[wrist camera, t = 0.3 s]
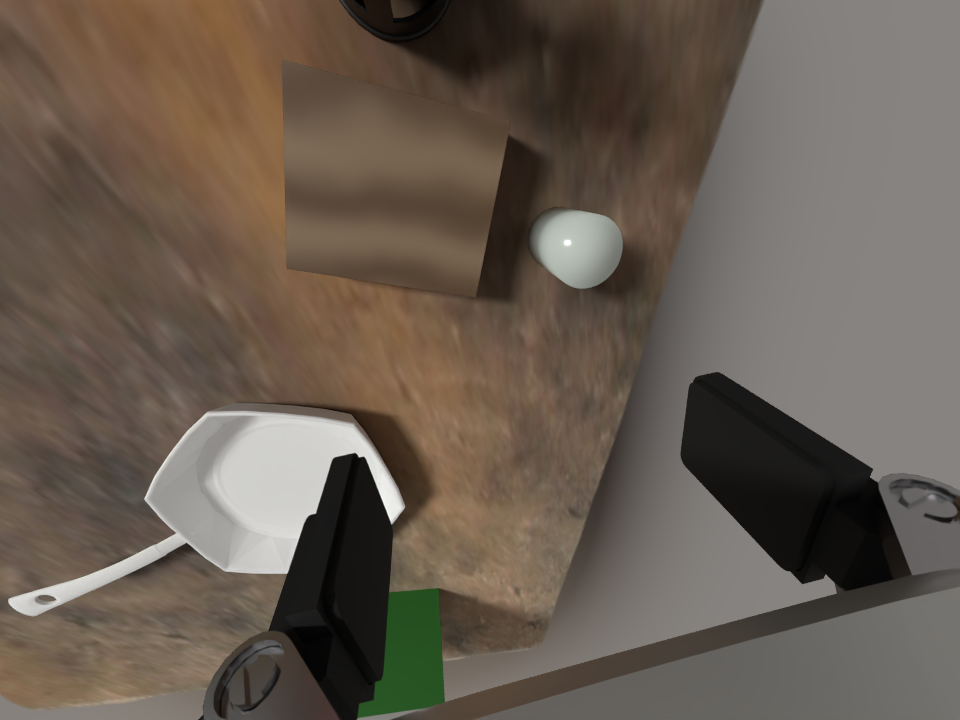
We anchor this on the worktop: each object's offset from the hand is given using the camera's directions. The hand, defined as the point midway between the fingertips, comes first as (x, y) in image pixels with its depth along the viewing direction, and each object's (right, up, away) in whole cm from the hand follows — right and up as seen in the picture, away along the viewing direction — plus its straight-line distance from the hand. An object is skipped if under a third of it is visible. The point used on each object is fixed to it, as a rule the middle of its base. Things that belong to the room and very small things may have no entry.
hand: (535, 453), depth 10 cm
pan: (-33, -15, +36) cm, 51 cm away
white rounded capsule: (+6, +15, +27) cm, 31 cm away
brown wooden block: (-9, +18, +23) cm, 30 cm away
